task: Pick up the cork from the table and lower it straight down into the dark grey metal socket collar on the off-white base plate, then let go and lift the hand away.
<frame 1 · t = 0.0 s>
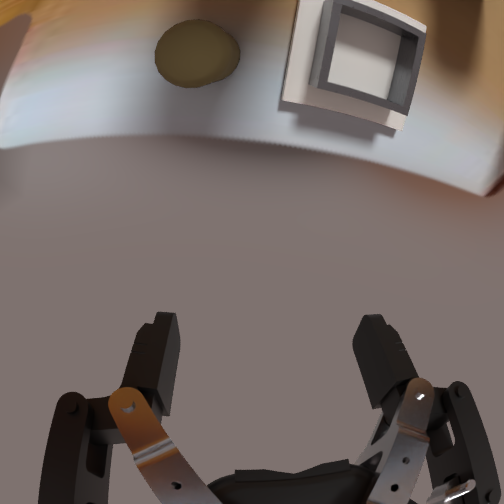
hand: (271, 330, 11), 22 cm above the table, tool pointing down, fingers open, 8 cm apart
socket base: (357, 54, 21), on the table
socket collar: (368, 55, 19), on the socket base, point 3 cm above the table
cork: (209, 55, 21), on the table
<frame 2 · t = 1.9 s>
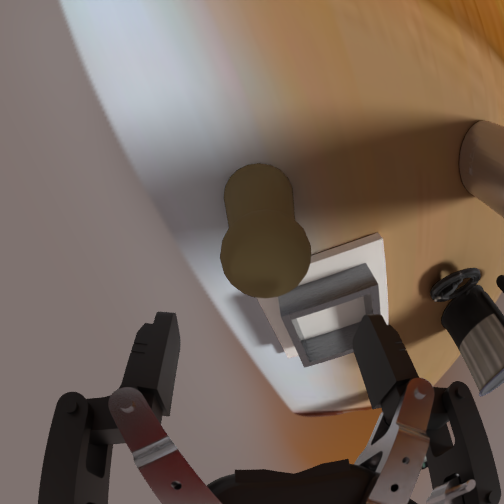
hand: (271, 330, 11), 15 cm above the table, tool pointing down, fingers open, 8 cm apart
socket base: (328, 301, 31), on the table
socket collar: (334, 320, 28), on the socket base, point 3 cm above the table
cork: (258, 195, 24), on the table
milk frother: (455, 295, 32), on the table
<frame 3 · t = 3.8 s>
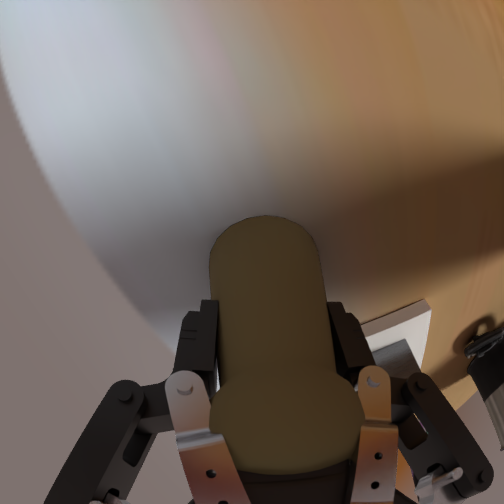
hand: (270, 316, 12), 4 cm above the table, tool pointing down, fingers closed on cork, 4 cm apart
socket base: (349, 375, 22), on the table
socket collar: (357, 402, 19), on the socket base, point 3 cm above the table
cork: (264, 264, 15), on the table, touching gripper
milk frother: (486, 343, 24), on the table
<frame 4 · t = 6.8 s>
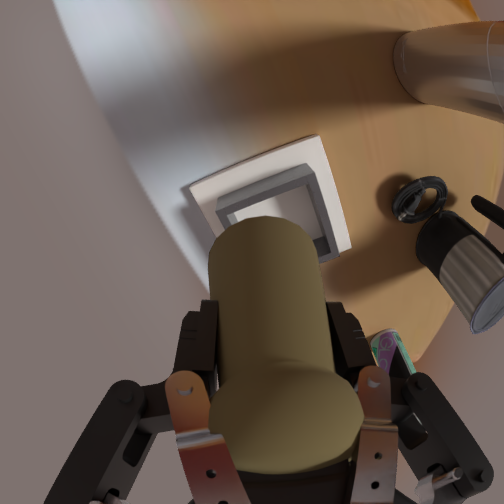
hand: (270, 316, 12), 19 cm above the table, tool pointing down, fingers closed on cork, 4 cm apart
socket base: (276, 214, 30), on the table
socket collar: (280, 226, 28), on the socket base, point 3 cm above the table
cork: (263, 264, 15), point 15 cm above the table, touching gripper
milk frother: (427, 221, 32), on the table
spray can: (383, 337, 44), on the table
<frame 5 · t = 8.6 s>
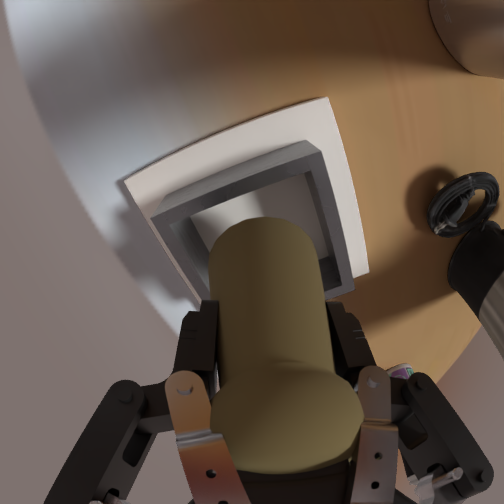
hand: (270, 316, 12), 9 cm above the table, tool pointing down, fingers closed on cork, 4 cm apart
socket base: (259, 221, 20), on the table
socket collar: (262, 242, 17), on the socket base, point 3 cm above the table
cork: (262, 264, 15), point 5 cm above the table, touching gripper
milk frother: (465, 234, 21), on the table
spray can: (394, 373, 34), on the table
when the fingers open (6 cm above the table, at t = 10.0 s): cork drops 1 cm, resting on socket base.
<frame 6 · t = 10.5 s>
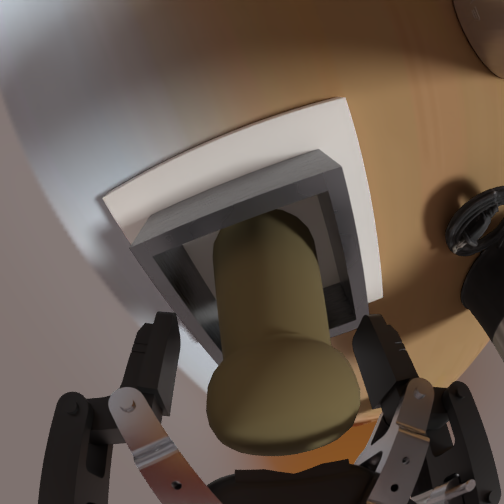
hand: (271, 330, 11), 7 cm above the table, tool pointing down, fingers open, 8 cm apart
socket base: (261, 244, 17), on the table
socket collar: (264, 272, 15), on the socket base, point 3 cm above the table
cork: (264, 253, 16), point 1 cm above the table, touching socket base
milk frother: (481, 250, 19), on the table
spray can: (400, 390, 31), on the table
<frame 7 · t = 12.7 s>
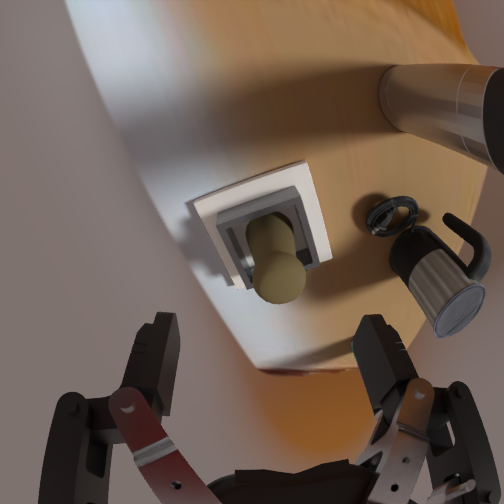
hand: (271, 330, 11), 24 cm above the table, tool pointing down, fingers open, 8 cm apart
socket base: (267, 228, 35), on the table
socket collar: (270, 239, 33), on the socket base, point 3 cm above the table
cork: (269, 232, 34), point 1 cm above the table, touching socket base
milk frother: (401, 235, 37), on the table
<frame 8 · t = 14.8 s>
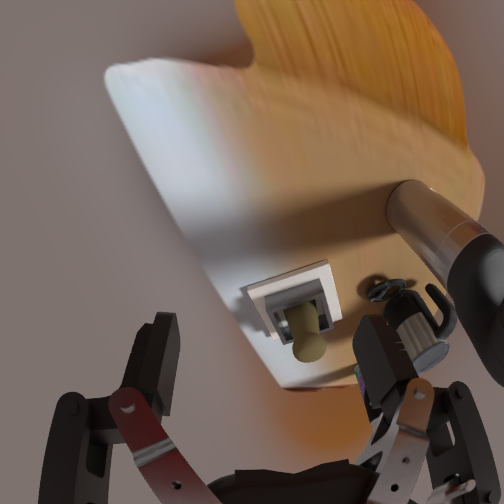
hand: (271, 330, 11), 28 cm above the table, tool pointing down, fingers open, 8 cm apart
socket base: (298, 302, 48), on the table
socket collar: (300, 313, 46), on the socket base, point 3 cm above the table
cork: (299, 306, 47), point 1 cm above the table, touching socket base
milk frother: (393, 297, 50), on the table
spray can: (363, 365, 62), on the table
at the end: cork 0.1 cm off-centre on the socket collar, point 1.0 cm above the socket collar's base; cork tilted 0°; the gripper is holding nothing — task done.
